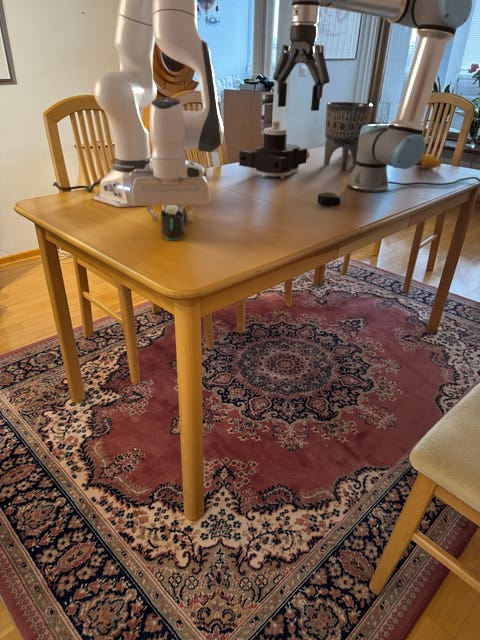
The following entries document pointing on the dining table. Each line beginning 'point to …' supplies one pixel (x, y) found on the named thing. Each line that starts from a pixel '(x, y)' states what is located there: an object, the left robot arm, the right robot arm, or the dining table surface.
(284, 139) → the mechanical component
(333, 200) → the tape measure
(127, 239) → the dining table surface
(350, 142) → the planter
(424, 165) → the toy
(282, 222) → the dining table surface
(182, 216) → the ballet flat
